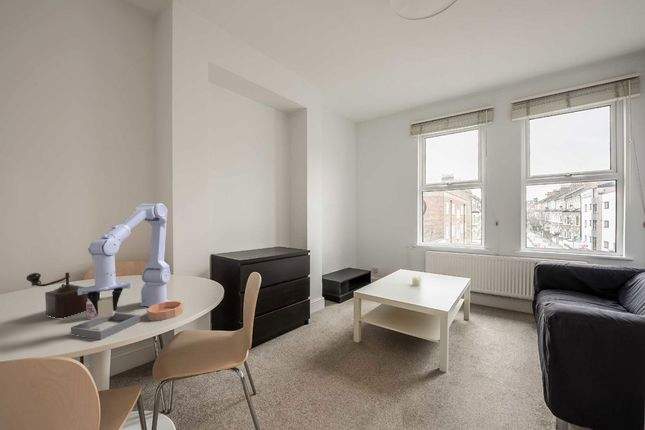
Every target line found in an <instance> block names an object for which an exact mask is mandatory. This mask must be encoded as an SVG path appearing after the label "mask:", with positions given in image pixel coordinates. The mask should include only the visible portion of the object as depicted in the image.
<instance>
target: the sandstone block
mask: <svg viewBox="0 0 645 430" xmlns="http://www.w3.org/2000/svg"><path fill="white" fill-rule="evenodd" d="M115 312H116V311H113V295H110V296H104V297H101V298H100V299H99V300H98V319H99V318H105V317H111V316H113V315H114V314H115Z"/></svg>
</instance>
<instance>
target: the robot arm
mask: <svg viewBox="0 0 645 430" xmlns="http://www.w3.org/2000/svg"><path fill="white" fill-rule="evenodd" d="M168 211H169V210H168V208H167V207H166V206H165V204H164V203H140V204H138V205H137V206H136V207H135V208H134V211H133V213H132V214H131V215H129V217H128V218H127V219H125V221H124V222H123V223H122V224H120V223H119V224H116V225H115V224H114V225H112V226H111V229H110V230H109V231H107V232H105V234H103V235H102V236H101V237H100V238H97V239H95V240H93V241H92V242H91V243H90V244H89V247H88V248H87V252H88V254H90V255H91V259H92V260H93V275H94V276H93V277H94V285H91V286H83V287H84V288H79V289H78V295H82V294H87V293H88V296H87V297H88V299H89V300H90V301H91V302H92V304H93V306H94V308H95V310H96V314H98V300H99V299H100V294H101V292H107V291H108V292H109V291H112V293H111V294H112V295H111V296H113V311H115V312H117V310H118V303H119V300H120V297H121V295H122V292H123V291H124V290H125V289H131V288H132V281H124V282H122V281H120V282H117V279H116V276H117V275H116V255H115V254H117V253H118V252H119V250H120V249H119V248H120V247H121V244H122V243H123V242H124V241H125V240H126V239H127V238H129V236H130V235H131V234H132V233H131V230H132V229H134V228H135V227H136V226H138V224H140V223H141V222H142V221H146V222H147V223H149V225H151V239H150V251H149V261H148V262H147V263H146V264H145V265H144V267H143V270H142V274H141V281H142V282H144V283H145V284H143V286H142V287H141V291H140V296H141V299H140V301H141V303H140V304H139V307H141V306H142V307H148V308H149V307H150V306H153V305H155V304H158V303H162V302H166V301H173V300H172V299H167V298H168V295H167V294H168V293H167V284H168V283H169V281H170V279H171V275H172V274H171V269H170V265H169V264H168V263H167V262H166V261H165V251H166V241H167V240H166V237H167V220H168Z"/></svg>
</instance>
